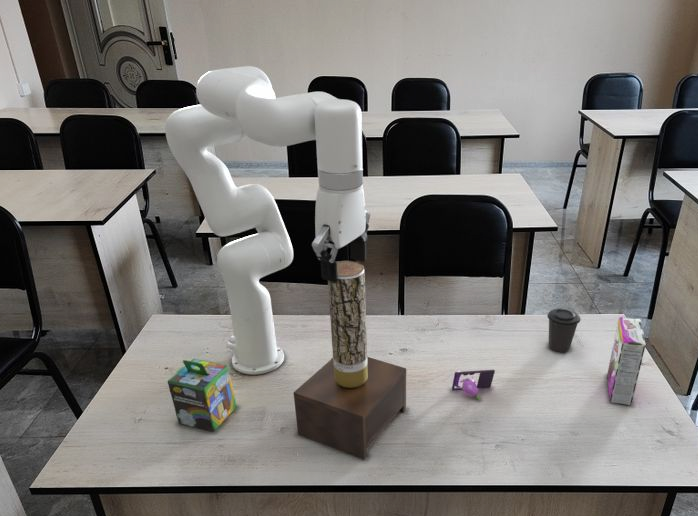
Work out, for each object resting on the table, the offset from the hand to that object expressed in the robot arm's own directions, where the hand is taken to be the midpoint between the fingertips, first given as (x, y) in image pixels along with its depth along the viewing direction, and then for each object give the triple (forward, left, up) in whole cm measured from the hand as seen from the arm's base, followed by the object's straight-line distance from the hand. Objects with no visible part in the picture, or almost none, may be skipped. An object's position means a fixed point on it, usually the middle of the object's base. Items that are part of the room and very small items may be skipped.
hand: (344, 269), depth 111 cm
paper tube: (+1, 0, -25) cm, 25 cm away
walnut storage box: (+1, 0, -36) cm, 36 cm away
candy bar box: (+49, +38, -36) cm, 71 cm away
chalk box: (-28, -13, -36) cm, 48 cm away
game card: (+20, +21, -36) cm, 46 cm away
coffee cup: (+32, +50, -36) cm, 69 cm away
